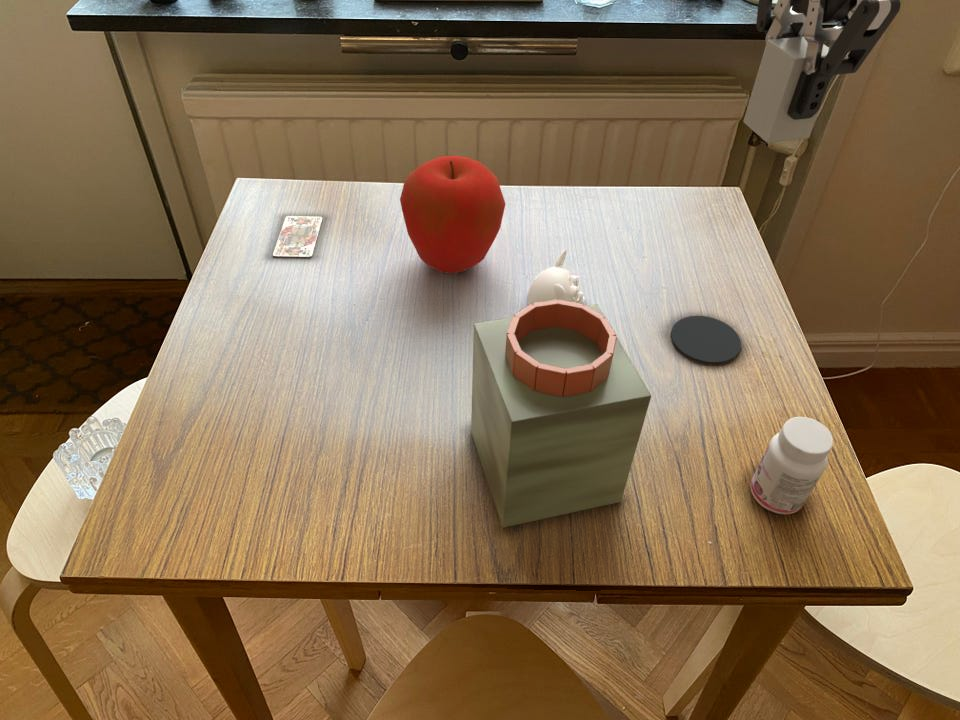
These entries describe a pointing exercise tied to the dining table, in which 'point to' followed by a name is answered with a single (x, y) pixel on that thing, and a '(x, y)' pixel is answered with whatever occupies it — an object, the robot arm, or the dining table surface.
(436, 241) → the apple
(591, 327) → the segmented terracotta ring
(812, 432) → the pill bottle
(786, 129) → the block
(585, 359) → the stand
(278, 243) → the playing card
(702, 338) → the coaster
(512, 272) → the dining table surface
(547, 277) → the figurine
